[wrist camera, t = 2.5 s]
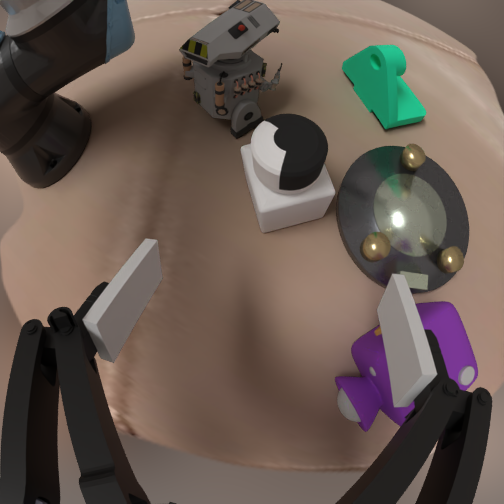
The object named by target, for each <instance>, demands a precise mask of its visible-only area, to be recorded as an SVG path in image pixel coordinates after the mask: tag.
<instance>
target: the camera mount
mask: <svg viewBox="0 0 504 504" xmlns="http://www.w3.org/2000/svg"><path fill="white" fill-rule="evenodd" d="M342 70H343V71H344V72H345V73H346V75H347V76H348V77H349V79H350V80H351V81H352V82H353V84H354V88H353V89H354V91H355V92H356V94H357V95H358V96H359V98H360V99H361V100H362V102H363V103H364V105H365V106H366V108H367V109H368V111H369V112H374V113H375V114H376V116H377V117H378V119H379V120H380V122H381V123H382V125H383V127H384V128H385V129H388V128H393V127H397V126H401V125H406V124H411V123H416V122H420V121H422V119H423V118H424V116H425V115H426V110H425V109H424V107H423V106H422V104H421V103H420V102H419V100H418V99H417V98H416V96H415V95H414V94H413V92H412V91H411V90H410V88H409V87H408V86H407V84H406V83H405V82H404V81H403V79H402V78H401V77H400V76H401V75H403V74H404V72H405V70H406V60H405V56H404V54H403V52H402V51H401V50H400V49H399V48H398V47H397V46H395V45H375V46H369V47H367V48H366V49H364V50H362V51H361V52H359V53H357V54H355V55H354V56H352V57H351V58H349V59H347V60H346V61H344V62H343V66H342Z"/></svg>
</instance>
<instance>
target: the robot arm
mask: <svg viewBox="0 0 504 504" xmlns="http://www.w3.org/2000/svg"><path fill="white" fill-rule="evenodd" d="M0 5H1V6H2V7H3V9H5V11H6V12H8V14H9V17H8V21H7V26H6V33H7V36H6V35H5V32H2V31H0V152H1V153H3V154H4V155H5V156H6V157H7V158H8V160H9V161H10V163H11V164H12V166H13V168H14V169H15V171H16V172H17V174H18V175H19V177H20V178H21V179H22V180H23V181H24V182H26V183H27V184H29V185H31V186H32V187H35V188H43V187H47V186H49V185H51V184H53V183H55V182H56V181H58V180H59V179H60V178H62V177H63V176H64V175H65V174H66V173H67V172H68V171H69V170H70V169H71V168H72V166H73V165H74V164H75V163H76V161H77V160H78V158H79V157H80V155H81V154H82V152H83V150H84V148H85V146H86V144H87V141H88V139H89V135H90V131H91V119H90V116H89V114H88V113H87V112H86V111H85V109H84V108H83V107H82V106H81V105H80V104H78V103H77V102H74V101H72V100H70V99H68V98H65V97H63V96H61V95H59V94H56V93H55V92H56V91H58V90H59V89H61V88H62V87H64V86H65V85H67V84H68V83H70V82H72V81H74V80H75V79H77V78H79V77H80V76H82V75H84V74H86V73H87V72H89V71H91V70H93V69H95V68H97V67H98V66H100V65H102V64H104V63H105V64H106V63H107V62H109V61H110V59H112V58H114V57H116V56H118V55H120V54H121V53H123V52H125V51H127V50H128V49H130V48H131V46H132V45H133V43H134V40H135V33H134V29H133V25H132V21H131V17H130V13H129V9H128V4H127V0H0ZM162 279H163V277H162V270H161V263H160V255H159V248H158V240H153V239H145V240H144V241H143V242H142V243H141V245H140V246H139V247H138V248H137V249H136V251H135V252H134V253H133V254H132V255H131V257H130V258H129V259H128V260H127V262H126V263H125V264H124V265H123V267H122V268H121V269H120V270H119V272H118V273H117V274H116V275H115V277H114V278H113V279H112V281H111V282H110V283H107V282H103V283H101V284H100V285H98V286H97V287H96V288H95V289H94V290H93V291H92V293H91V295H89V296H88V298H87V299H86V301H85V302H84V303H83V304H82V306H81V307H80V308H79V310H78V311H77V312H76V314H75V315H73V313H72V311H71V310H70V309H69V308H67V307H59V308H57V309H54V310H53V311H52V312H51V313H50V314H49V316H48V320H47V321H48V323H49V325H50V327H44V326H43V325H42V323H41V321H39V320H38V319H32V320H29V321H28V322H26V323H25V324H24V325H23V327H22V329H21V332H20V336H19V340H18V344H17V347H16V351H15V355H14V360H13V364H12V368H11V373H10V379H9V384H8V389H7V396H6V402H5V409H4V417H3V426H2V439H1V464H0V465H1V466H0V474H1V475H0V476H1V477H0V504H60V484H59V471H58V449H57V447H58V446H57V426H58V402H59V388H60V390H61V395H62V401H63V406H64V411H65V416H66V420H67V425H68V429H69V433H70V437H71V441H72V445H73V448H74V452H75V455H76V459H77V462H78V465H79V468H80V472H81V477H80V478H79V485H80V489H81V491H82V494H83V497H84V499H85V502H86V504H151V503H150V501H149V499H148V498H147V495H146V494H145V492H144V491H143V489H142V487H141V486H140V485H139V483H138V482H137V480H136V478H135V475H134V473H133V471H132V469H131V466H130V464H129V462H128V459H127V457H126V454H125V452H124V449H123V447H122V444H121V442H120V439H119V436H118V433H117V431H116V428H115V425H114V422H113V419H112V416H111V413H110V410H109V407H108V404H107V400H106V397H105V394H104V390H103V387H102V383H101V379H100V375H99V372H98V368H97V363H96V360H95V358H94V356H95V354H96V353H97V352H98V354H99V356H100V358H101V359H104V360H107V361H110V362H113V363H114V362H115V360H116V358H117V356H118V354H119V353H120V351H121V349H122V347H123V345H124V344H125V342H126V340H127V338H128V336H129V335H130V333H131V331H132V329H133V328H134V326H135V324H136V322H137V321H138V319H139V317H140V316H141V314H142V312H143V310H144V309H145V307H146V305H147V304H148V302H149V300H150V299H151V297H152V295H153V294H154V292H155V290H156V289H157V287H158V285H159V284H160V282H161V280H162ZM377 313H378V318H379V322H380V327H381V332H382V337H383V342H384V347H385V353H386V358H387V364H388V370H389V376H390V383H391V390H392V397H393V405H394V407H408V406H409V405H410V404H411V403H412V402H413V401H414V405H415V408H414V409H413V410H412V411H411V412H410V413H408V414H407V415H406V416H405V417H404V418H406V420H405V421H404V423H403V424H402V426H401V427H400V428H399V430H398V431H397V433H396V434H395V435H394V437H393V438H392V439H391V441H390V442H389V443H388V445H387V446H386V447H385V449H384V450H383V451H382V452H381V454H380V455H379V456H378V457H377V459H376V460H375V461H374V462H373V464H372V465H371V466H370V467H369V468H368V469H367V471H366V472H365V473H364V474H363V475H362V476H361V477H360V479H359V480H358V481H357V482H356V483H355V484H354V485H353V486H352V487H351V488H350V489H349V490H348V491H347V493H346V494H345V495H344V496H343V497H342V498H341V499H340V500H339V501H338V502H337V503H336V504H396V503H397V501H398V500H399V498H400V497H401V496H402V495H403V493H404V492H405V491H406V489H407V488H408V486H409V485H410V484H411V482H412V481H413V479H414V478H415V476H416V475H417V473H418V472H419V470H420V469H421V467H422V466H423V464H424V463H425V461H426V459H427V458H428V456H429V454H430V453H431V451H432V449H433V448H434V446H435V444H436V442H437V441H438V443H437V446H436V450H435V453H434V456H433V459H432V462H431V465H430V468H429V471H428V473H427V476H426V479H425V481H424V484H423V487H422V489H421V492H420V494H419V496H418V499H417V501H416V503H415V504H472V503H473V499H474V496H475V493H476V489H477V486H478V482H479V478H480V474H481V470H482V466H483V461H484V456H485V451H486V446H487V440H488V434H489V427H490V419H491V410H492V397H491V395H490V393H489V392H488V391H487V390H486V389H485V388H481V387H479V388H477V389H476V390H475V391H474V392H473V393H471V392H467V391H464V390H461V389H460V387H459V386H458V384H457V383H456V382H455V381H454V380H453V379H451V378H449V375H448V372H447V368H446V365H445V362H444V358H443V355H442V354H441V353H442V352H441V349H440V347H439V343H438V340H437V337H436V336H435V334H434V333H433V332H432V330H429V329H424V328H423V325H422V322H421V319H420V316H419V313H418V310H417V308H416V305H415V302H414V299H413V297H412V294H411V291H410V289H409V286H408V284H407V281H406V279H405V276H404V275H400V274H393V273H392V275H391V278H390V280H389V283H388V285H387V288H386V290H385V292H384V295H383V297H382V299H381V301H380V304H379V306H378V308H377ZM169 504H176V503H172V502H170V503H169Z"/></svg>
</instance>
